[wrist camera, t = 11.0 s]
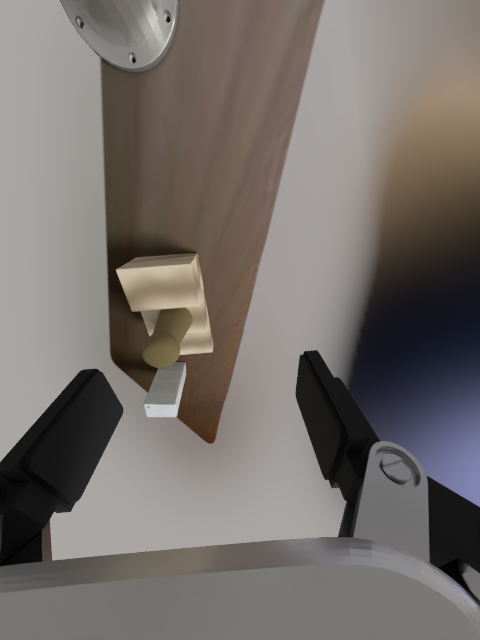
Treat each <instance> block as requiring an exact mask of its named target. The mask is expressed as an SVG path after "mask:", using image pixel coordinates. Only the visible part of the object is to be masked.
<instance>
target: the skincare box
mask: <svg viewBox="0 0 480 640" xmlns="http://www.w3.org/2000/svg"><path fill="white" fill-rule="evenodd" d="M185 377H186V363H185V362H175V363H174V364H172V365H171V366H169V367H166V368H158V370H157V373H156V375H155V377H154V380H153V382H152V385H151V387H150V390H149V392H148V395H147V397H146V400H145V402H144V407H145V411H146V415H147V417H176V416H177V412H178V408H179V404H180V399H181V395H182V390H183V386H184V381H185Z"/></svg>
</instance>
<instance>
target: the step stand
mask: <svg viewBox="0 0 480 640" xmlns="http://www.w3.org/2000/svg"><path fill="white" fill-rule="evenodd" d="M116 272H117V274H118V277H119V279H120V282H121V285H122V287H123V290H124V292H125V295H126V297H127V300H128V302H129V305H130V307H131V310H132V312H134V311H140V312H141V314H142V317H143V320H144V322H145V325H146V328H147V331H148V333H149V336H151V335H152V334H153V331H154V328H155V325H156V322H157V319H158V316H159V313H160V311H161V309H171V308H184V307H186V308H187V309H188V310H189V311H190V313H191V314H192V318H193V320H192V324H191V326H190V328H189V329H188V331H187V333H186V334H185V336H184V338H183V340H182V341H181V343H180V355H184V354H196V353H208V352H213V341H212V335H211V329H210V323H209V317H208V311H207V306H206V300H205V294H204V288H203V282H202V276H201V270H200V264H199V259H198V253H187V254H175V255H162V256H149V257H136V258H135V259H133V260H131V261H130V262H128V263H126V264H125V265H123V266H121V267H119V268H118V269H116Z"/></svg>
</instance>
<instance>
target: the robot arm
mask: <svg viewBox="0 0 480 640" xmlns="http://www.w3.org/2000/svg"><path fill="white" fill-rule="evenodd" d="M60 2H61V3H62V6H63V8H64V10H65V12H66V14H67V16H68V18H69V19H70V21H71V22H72V24H73V25H74V27H75V29H76V30H77V32H78V33H79V34H80V36H81V37H82V38H83V39H84V40H85V42H86V43H87V44H88V45H89V46H90V47H91V48H92V50H93V51H94V52H95V53H96V54H97V55H98V56H100V57H101V58H102V59H103V60H105V61H106V62H107V63H108V64H110V65H112V66H114V67H116V68H118V69H120V70H124V71H127V72H142V71H146V70H149V69H151V68H152V67H154V66H155V65H157V64H158V63H159V62H160V61H161V59H162V58H163V57H164V56H165V55H166V53H167V51H168V49H169V47H170V46H171V43H172V40H173V37H174V34H175V31H176V25H177V19H178V4H179V0H60ZM167 20H171V21H170V22H169V23H167ZM83 25H84V27H83ZM134 60H136V62H135V63H134V64H133V61H134ZM296 398H297V402H298V405H299V408H300V411H301V413H302V417H303V420H304V422H305V425H306V428H307V431H308V434H309V437H310V440H311V443H312V446H313V448H314V451H315V454H316V457H317V460H318V463H319V466H320V469H321V472H322V474H323V477H324V478H325V480H329V482H330V485H331V487H332V488H340V490H341V492H342V495H343V498H344V500H346V505H345V509H344V514H343V518H342V522H341V526H340V531H339V535H338V537H320V538H305V539H291V540H274V541H263V542H252V543H239V544H228V545H217V546H205V547H194V548H182V549H171V550H161V551H150V552H139V553H128V554H118V555H107V556H97V557H86V558H76V559H66V560H55V561H52V552H51V537H50V536H51V534H50V518H51V516H52V514H53V512H56V513H61V512H71V510H72V508H73V506H74V504H75V502H77V501H78V500H79V499H80V498H81V496H82V494H83V492H84V490H85V488H86V486H87V484H88V482H89V480H90V478H91V476H92V474H93V472H94V470H95V468H96V466H97V464H98V462H99V460H100V458H101V456H102V454H103V452H104V450H105V448H106V446H107V444H108V442H109V440H110V438H111V436H112V434H113V432H114V430H115V428H116V426H117V424H118V422H119V420H120V418H121V416H122V414H123V407H122V405H121V403H120V402H119V400H118V398H117V396H116V395H115V393H114V391H113V390H112V388H111V386H110V384H109V383H108V381H107V379H106V378H105V376H104V374H103V373H102V372H100V371H99V370H98V369H87V370H82V371H80V372H79V373H78V374H77V376H76V377H75V378H74V379H73V380H72V381H71V382H70V383H69V384H68V386H67V387H66V388H65V389H64V390H63V391H62V393H61V394H60V395H59V396H58V397H57V398H56V399H55V401H54V402H53V403H52V404H51V405H50V406H49V407H48V408H47V410H46V411H45V412H44V413H43V414H42V415H41V416H40V418H39V419H38V420H37V421H36V422H35V423H34V424H33V425H32V427H31V428H30V429H29V430H28V431H27V432H26V433H25V435H24V436H23V437H22V438H21V439H20V440H19V442H18V443H17V444H16V445H15V446H14V447H13V448H12V450H11V451H10V452H9V453H8V454H7V455H6V456H5V457H4V458H3V460H2V461H1V462H0V640H480V507H478V506H477V505H475V504H473V503H472V502H470V501H468V500H467V499H465V498H463V497H461V496H460V495H458V494H457V493H454V492H453V491H452V490H450V489H448V488H446V487H445V486H443V485H441V484H440V483H438V482H436V481H435V480H433V479H431V478H430V477H428V476H426V473H425V471H424V469H423V467H422V465H421V464H420V463H419V462H418V460H417V459H416V458H415V457H414V456H413V455H412V454H411V453H410V452H408V451H407V450H406V449H404V448H402V447H401V446H399V445H397V444H394V443H391V442H385V441H382V442H380V440H379V439H378V437H377V436H376V434H375V432H374V431H373V429H372V428H371V426H370V424H369V423H368V421H367V420H366V418H365V417H364V415H363V413H362V412H361V410H360V409H359V407H358V406H357V404H356V402H355V401H354V399H353V398H352V396H351V395H350V393H349V391H348V390H347V388H346V387H345V385H344V383H343V382H342V381H341V380H340V379H339V378H338V377H335V378H334V377H333V375H332V374H331V372H330V370H329V369H328V367H327V365H326V364H325V362H324V360H323V359H322V357H321V355H320V354H319V352H318V351H317V350H315V351H305V352H304V354H303V355H300V359H299V368H298V377H297V385H296Z"/></svg>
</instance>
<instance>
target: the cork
mask: <svg viewBox="0 0 480 640" xmlns="http://www.w3.org/2000/svg"><path fill="white" fill-rule="evenodd" d="M192 320H193V318H192V314H191V313H190V311H189V310H188V309H187V308H186V307H184V308H171V309H161V311H160V313H159V316H158V319H157V322H156V325H155V328H154V331H153V334H152V335H151V336H150V337H148V338H147V339H146V340H145V342H144V343H143V346H142V349H141V353H142V356H143V359H144V360H145V361H146V363H148V364H149V365H151V366H153V367H156V368H166V367H169V366H171V365H172V364H174V363H175V362H176V361H177V359H178V357H179V355H180V343H181V341H182V340H183V338H184V336H185V334H186V333H187V331H188V329H189V328H190V326H191V324H192Z"/></svg>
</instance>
